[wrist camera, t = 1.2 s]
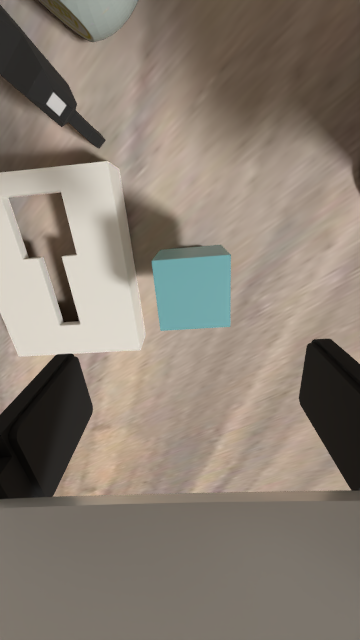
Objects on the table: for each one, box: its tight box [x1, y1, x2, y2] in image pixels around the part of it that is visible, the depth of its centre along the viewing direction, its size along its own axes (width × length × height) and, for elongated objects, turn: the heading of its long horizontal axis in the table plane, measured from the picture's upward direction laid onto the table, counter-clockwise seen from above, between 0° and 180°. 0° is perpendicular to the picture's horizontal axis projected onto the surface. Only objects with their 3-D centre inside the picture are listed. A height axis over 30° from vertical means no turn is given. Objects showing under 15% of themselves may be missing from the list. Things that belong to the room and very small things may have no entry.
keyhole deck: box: [0, 161, 146, 357], centre depth 28 cm, size 16×20×4 cm
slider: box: [152, 245, 231, 331], centre depth 24 cm, size 6×6×11 cm
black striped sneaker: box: [0, 5, 105, 148], centre depth 20 cm, size 3×16×10 cm, turn 44°
